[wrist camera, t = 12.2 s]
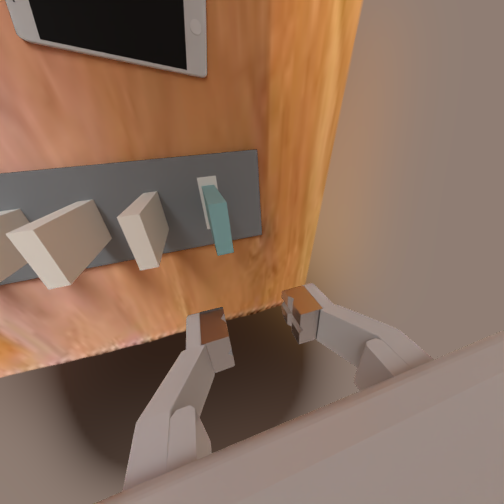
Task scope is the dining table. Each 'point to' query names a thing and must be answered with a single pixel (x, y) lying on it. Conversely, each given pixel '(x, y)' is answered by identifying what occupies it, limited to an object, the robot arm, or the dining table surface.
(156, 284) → the dining table surface
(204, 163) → the domino mat
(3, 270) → the domino
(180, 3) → the smartphone
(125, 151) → the dining table surface
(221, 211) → the domino
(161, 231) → the domino
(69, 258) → the domino
